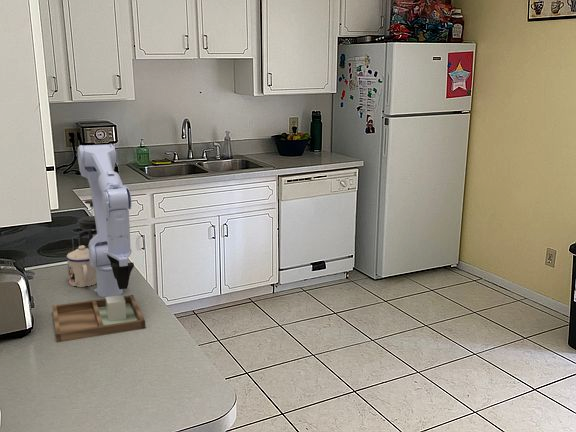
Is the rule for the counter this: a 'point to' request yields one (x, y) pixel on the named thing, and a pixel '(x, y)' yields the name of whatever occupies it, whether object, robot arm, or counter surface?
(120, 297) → the stone block
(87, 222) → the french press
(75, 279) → the teacup with lid
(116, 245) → the robot arm
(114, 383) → the counter surface
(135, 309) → the sorting tray
